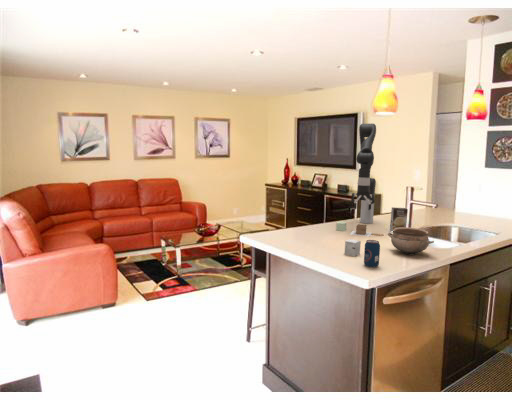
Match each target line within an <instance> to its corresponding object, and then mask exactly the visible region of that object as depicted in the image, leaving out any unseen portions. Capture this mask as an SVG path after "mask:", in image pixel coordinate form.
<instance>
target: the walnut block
mask: <svg viewBox="0 0 512 400" xmlns="http://www.w3.org/2000/svg"><path fill="white" fill-rule="evenodd" d="M355 226H356V227H355V229H356V230H355V231H356V234H360V235H365V234H366V232H367V224H362V223H361V224H360V223H359V224H358V223H357V224H356V225H355Z"/></svg>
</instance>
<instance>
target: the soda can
mask: <svg viewBox="0 0 512 400" xmlns="http://www.w3.org/2000/svg"><path fill="white" fill-rule="evenodd" d="M380 248H381V244H380V241H378V240H374V239H368V240H366V241H365V244H364V253H363V255H364V256H363V263H364V266H365V267H367V268H373V269H374V268H377V267H378V266H379V264H380V252H381V249H380Z"/></svg>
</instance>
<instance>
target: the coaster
mask: <svg viewBox="0 0 512 400" xmlns="http://www.w3.org/2000/svg"><path fill="white" fill-rule="evenodd" d="M371 236H373V237H383V236H384V234H383V233H373V232H372V234H371Z"/></svg>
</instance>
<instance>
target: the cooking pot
mask: <svg viewBox="0 0 512 400" xmlns="http://www.w3.org/2000/svg"><path fill="white" fill-rule="evenodd" d="M393 230H394V232H388V233H387V236H388V237H389V238H391V240H390V241H391V245H392V246H393V247H394V248H395V249H397V250H398V251H400V253H402V254H403V255H409V254H414V255H417V254H419V253H421V252H424V251H425V250H427V248H428V247H429V244H430V245H431V244H433V243H435V240H430V239H429V236H428V234H429V231H428V230H425V229H422V228H421V229H420V228H418V227H417V228H416V227H407V226H406V227H399V228H394V229H393Z"/></svg>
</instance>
